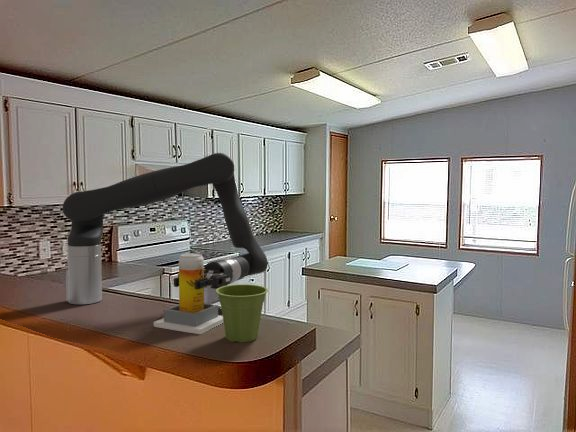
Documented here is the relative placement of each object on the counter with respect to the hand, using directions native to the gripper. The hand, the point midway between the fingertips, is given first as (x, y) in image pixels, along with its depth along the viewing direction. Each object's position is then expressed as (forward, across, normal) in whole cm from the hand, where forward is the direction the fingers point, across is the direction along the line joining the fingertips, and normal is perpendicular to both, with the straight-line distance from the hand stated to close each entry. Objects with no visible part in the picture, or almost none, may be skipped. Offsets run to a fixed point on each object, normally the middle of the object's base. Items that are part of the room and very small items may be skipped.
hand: (185, 283), depth 109 cm
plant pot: (+2, +17, +11) cm, 20 cm away
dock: (-2, 0, +11) cm, 11 cm away
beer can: (-2, 0, +8) cm, 9 cm away
